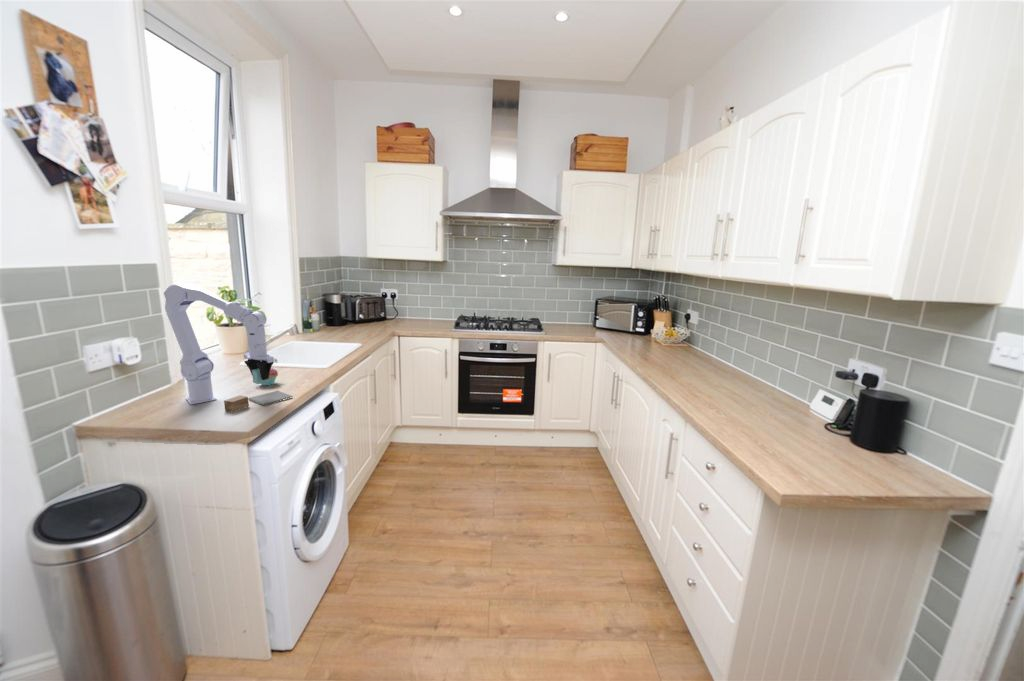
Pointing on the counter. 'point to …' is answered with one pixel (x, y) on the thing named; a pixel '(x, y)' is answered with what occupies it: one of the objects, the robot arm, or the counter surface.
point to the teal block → (258, 377)
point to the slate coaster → (269, 397)
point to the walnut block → (236, 403)
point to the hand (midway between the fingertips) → (260, 378)
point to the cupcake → (271, 377)
